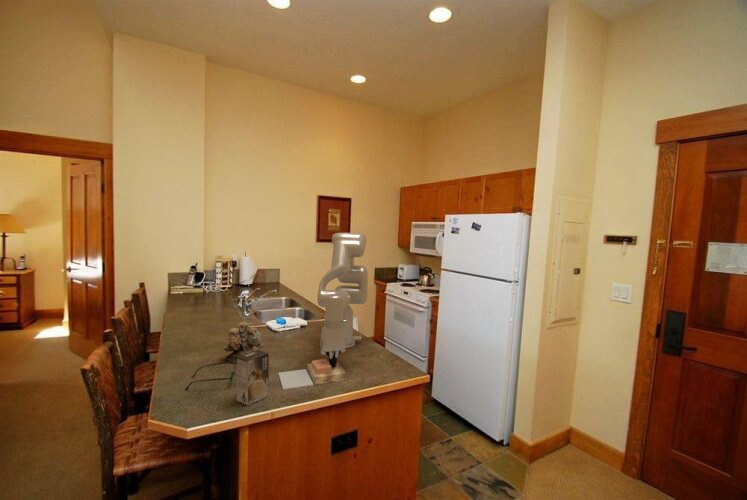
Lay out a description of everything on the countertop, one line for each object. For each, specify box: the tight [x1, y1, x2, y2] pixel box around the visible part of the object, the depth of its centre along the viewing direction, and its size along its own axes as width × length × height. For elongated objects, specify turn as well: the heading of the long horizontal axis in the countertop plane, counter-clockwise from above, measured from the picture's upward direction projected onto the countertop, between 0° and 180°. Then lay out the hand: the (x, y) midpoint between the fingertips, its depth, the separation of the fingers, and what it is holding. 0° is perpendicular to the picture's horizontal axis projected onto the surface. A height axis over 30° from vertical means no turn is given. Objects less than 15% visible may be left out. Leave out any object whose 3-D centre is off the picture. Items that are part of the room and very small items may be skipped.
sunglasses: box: [184, 361, 237, 391], centre depth 133 cm, size 16×17×5 cm
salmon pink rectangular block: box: [311, 358, 332, 375], centre depth 140 cm, size 6×9×2 cm, turn 24°
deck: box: [306, 360, 347, 386], centre depth 141 cm, size 13×14×3 cm
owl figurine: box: [222, 321, 265, 365], centre depth 156 cm, size 18×12×17 cm, turn 129°
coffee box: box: [236, 349, 270, 406], centre depth 120 cm, size 9×6×16 cm
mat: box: [278, 368, 315, 391], centre depth 136 cm, size 12×15×1 cm
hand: (332, 366), depth 142 cm, fingers closed
